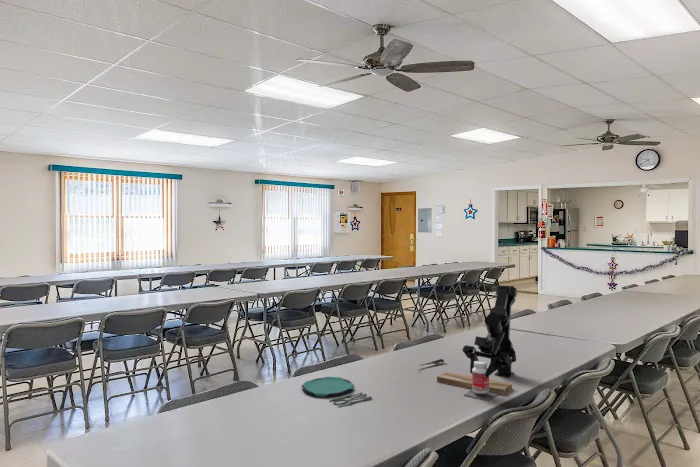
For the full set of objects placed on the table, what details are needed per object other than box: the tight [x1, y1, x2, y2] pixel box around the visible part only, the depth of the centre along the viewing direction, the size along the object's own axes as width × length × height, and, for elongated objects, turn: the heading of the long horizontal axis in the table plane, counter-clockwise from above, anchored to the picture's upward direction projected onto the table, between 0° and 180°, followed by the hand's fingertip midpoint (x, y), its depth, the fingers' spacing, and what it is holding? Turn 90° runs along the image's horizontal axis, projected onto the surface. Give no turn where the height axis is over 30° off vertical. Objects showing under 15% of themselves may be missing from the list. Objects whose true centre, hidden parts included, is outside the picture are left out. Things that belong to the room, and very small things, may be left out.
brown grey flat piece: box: [436, 371, 513, 402], centre depth 191 cm, size 18×28×2 cm, turn 52°
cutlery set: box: [301, 376, 373, 408], centre depth 189 cm, size 20×30×2 cm, turn 32°
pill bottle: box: [471, 360, 490, 394], centre depth 183 cm, size 6×6×11 cm
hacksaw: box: [416, 358, 448, 374], centre depth 221 cm, size 24×10×2 cm, turn 121°
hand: (478, 374), depth 182 cm, fingers closed on pill bottle, 6 cm apart
